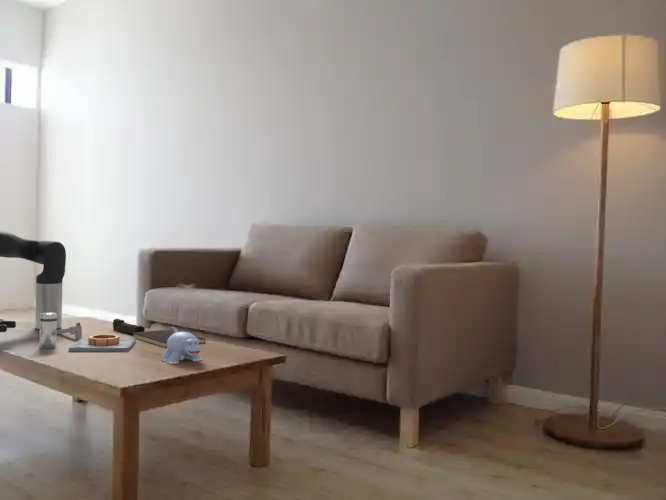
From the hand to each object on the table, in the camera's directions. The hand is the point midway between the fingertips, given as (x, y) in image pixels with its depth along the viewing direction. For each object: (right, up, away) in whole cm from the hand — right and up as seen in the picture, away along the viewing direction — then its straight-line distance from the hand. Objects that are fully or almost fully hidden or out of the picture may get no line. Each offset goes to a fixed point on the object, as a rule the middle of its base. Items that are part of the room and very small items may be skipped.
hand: (11, 326), depth 207 cm
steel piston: (+11, -7, +2) cm, 13 cm away
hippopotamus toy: (+58, -9, -12) cm, 60 cm away
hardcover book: (+45, -8, +22) cm, 51 cm away
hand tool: (+25, -7, +35) cm, 44 cm away
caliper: (+8, -7, +23) cm, 25 cm away
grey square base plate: (+27, -7, +7) cm, 29 cm away
